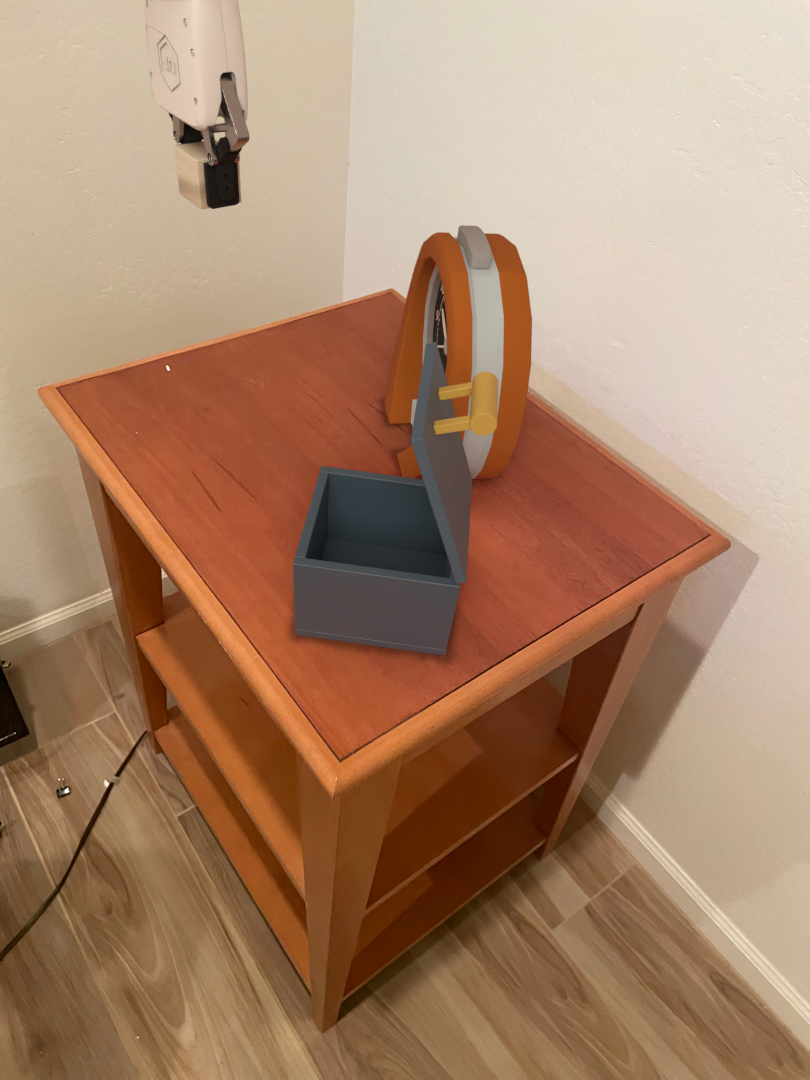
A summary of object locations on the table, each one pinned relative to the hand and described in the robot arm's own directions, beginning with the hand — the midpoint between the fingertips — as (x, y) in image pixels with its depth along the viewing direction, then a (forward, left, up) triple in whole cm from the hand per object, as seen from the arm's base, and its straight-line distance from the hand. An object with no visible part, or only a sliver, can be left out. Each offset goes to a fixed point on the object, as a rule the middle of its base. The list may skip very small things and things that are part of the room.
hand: (210, 194), depth 71 cm
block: (0, 0, 0) cm, 0 cm away
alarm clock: (+22, -15, -21) cm, 33 cm away
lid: (+14, -37, -5) cm, 40 cm away
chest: (+10, -36, -21) cm, 42 cm away
